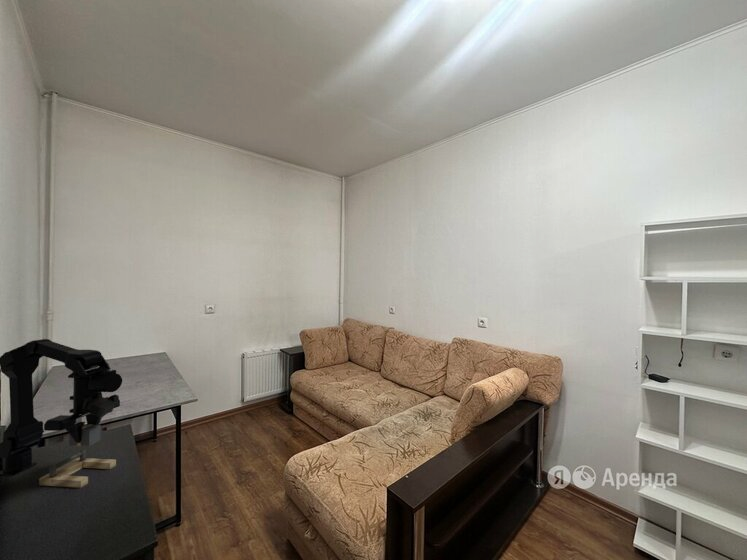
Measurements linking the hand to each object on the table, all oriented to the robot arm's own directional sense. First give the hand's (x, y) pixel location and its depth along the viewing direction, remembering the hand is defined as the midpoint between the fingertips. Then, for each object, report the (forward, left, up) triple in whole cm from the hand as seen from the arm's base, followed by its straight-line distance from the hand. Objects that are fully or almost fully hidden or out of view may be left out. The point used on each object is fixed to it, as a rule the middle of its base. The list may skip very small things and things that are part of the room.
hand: (85, 439), depth 95 cm
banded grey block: (0, 0, -1) cm, 1 cm away
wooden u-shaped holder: (-1, 0, -11) cm, 11 cm away
